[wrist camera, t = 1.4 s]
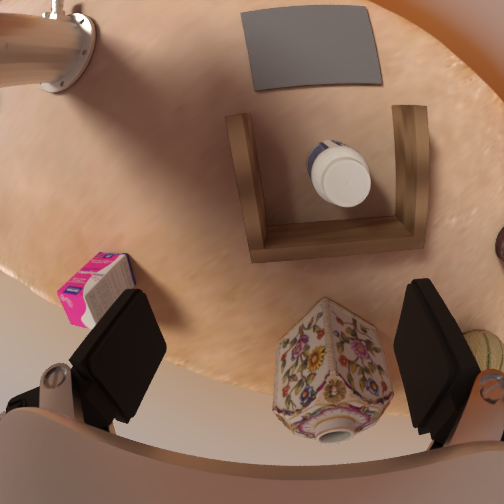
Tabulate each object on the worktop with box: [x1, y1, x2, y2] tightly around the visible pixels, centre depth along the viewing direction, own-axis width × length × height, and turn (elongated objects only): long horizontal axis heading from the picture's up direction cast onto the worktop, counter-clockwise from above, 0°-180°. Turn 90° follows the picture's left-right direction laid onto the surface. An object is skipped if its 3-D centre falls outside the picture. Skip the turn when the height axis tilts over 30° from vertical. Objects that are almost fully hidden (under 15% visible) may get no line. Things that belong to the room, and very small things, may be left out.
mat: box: [241, 5, 382, 91], centre depth 22 cm, size 10×14×1 cm
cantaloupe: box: [464, 330, 504, 373], centre depth 33 cm, size 15×15×15 cm
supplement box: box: [57, 252, 136, 329], centre depth 35 cm, size 6×6×12 cm
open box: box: [225, 105, 429, 263], centre depth 27 cm, size 15×19×6 cm
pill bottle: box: [307, 140, 371, 207], centre depth 25 cm, size 5×5×10 cm
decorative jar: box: [272, 297, 394, 445], centre depth 33 cm, size 12×12×18 cm
